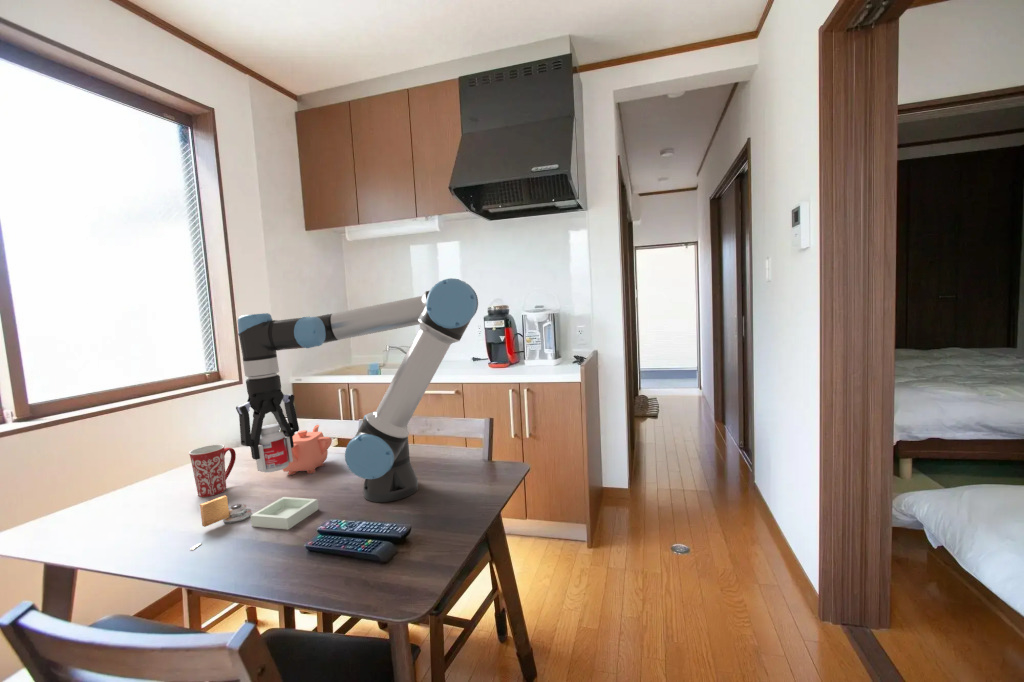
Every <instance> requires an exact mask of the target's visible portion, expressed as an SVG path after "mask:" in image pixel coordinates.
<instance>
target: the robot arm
mask: <svg viewBox="0 0 1024 682" xmlns="http://www.w3.org/2000/svg"><path fill="white" fill-rule="evenodd" d="M478 299H479V298H478V295H477V293H476V291H475V289H473V287H472V286H471V285H470V284H468V283H466V281H463V280H461V279H459V278H451V277H450V278H446V279H445V278H444V279H442V280H441V281H438V282H437V283H435V284H434V285H433V286H432V287H431V288H430V290H426V291H424V293H423V294H422V295H421V296H415V297H410V298H404V299H400V300H395V301H389V302H385V303H379V304H374V305H369V306H363V307H360V308H353V309H350V310H349V309H348V310H344V311H338V312H334V313H327V314H323V315H318V316H317V315H316V316H304V317H296V318H287V319H274V320H273V318H272V315H271V314H270V313H269V312H268V313H267V312H265V313H263V312H262V313H256V314H255V313H254V314H253V313H251V314H244V315H240V316H239V317H238V318H237V330H238V331H237V332H238V333H237V334H238V337H239V343H240V349H241V354H242V364H243V370H244V371H243V372H244V377H245V378H246V380H245V385H246V391H247V396H248V398H247V401H246V402H245V403H243V404H241V405H236V407H235V410H236V412H237V414H238V419H239V433H240V435H239V436H240V444H241V446H244V447H250V454H251V458H252V459H253V460H255V461H256V463H255V464H256V469H257V472H260V473H261V472H262V473H266V472H265V471H266V465H265V458H264V451H263V445H259V442H260V436H261V430H262V426H263V424H264V423H263V422H264V419H265V417H266V414H269V413H271V414H273V416H274V419H275V420H276V422H277V424H279V426H280V430H281V432H282V433H283V434H284V436H285V442H286V448H287V455H288V461H289V462H293V458H292V451H291V448H293V446H294V444H293V437H292V436H294V435H295V434H296V433H297V432H299V431H300V426H299V422H298V417H297V413H296V408H295V404H294V402H295V395H294V394H292V393H291V394H290V393H289V394H288V393H287V394H284V393H283V392H282V383H281V376H280V375H279V374H278V373H279V372H280V367H279V362H278V355H277V351H283V350H284V351H285V350H296V349H297V350H298V349H312V348H315V347H320V346H322V345H323V344H327V343H331V342H335V341H340V340H346V339H351V338H356V337H360V336H365V335H371V334H377V333H383V332H387V331H393V330H398V329H402V328H409V327H411V326H418V325H419V330H418V331H417V333H416V334H415V337H414V339H413V341H411V342H412V343H410V346H409V347H408V350H407V351H406V354H405V355H404V358H403V359H402V361H401V362H400V363H401V364H400V365H399V367H398V369H397V371H396V372H395V374H394V376H393V378H392V380H391V381H390V383H389V385H388V387H387V389H386V390H385V393H384V395H383V397H382V399H381V400H380V402H379V404H378V406H377V407H376V410H374V411H371V412H368V413H367V414H366V413H365V414H364V415H363V421H362V423H361V425H360V427H359V428H358V431H357V432H356V434H355V435H354V437H352V438H351V439H350V440H349V442H348V443H347V445H346V447H345V450H344V452H345V453H344V460H345V463H346V465H347V468H348V469H349V470H350V472H351V473H352V474H354V475H355V476H357V477H359V478H361V479H364V482H363V483H364V484H363V487H362V488H363V489H362V490H363V497H364V498H365V500H367V501H369V502H375V503H385V502H386V503H387V502H388V503H389V502H394V501H398V500H402V499H404V498H408V497H410V496H411V495H414V493H416V492H417V491H418V489H419V481H418V477H417V475H416V473H415V470H414V467H413V466H412V463H411V459H410V447H409V446H410V445H409V435H410V432H409V429H408V425H409V423H410V420H411V418H412V417H413V415H414V413H415V412H416V409H417V408H418V406H419V404H420V402H421V400H422V398H423V396H424V395H425V393H426V391H427V389H428V387H429V385H430V384H431V382H432V380H433V378H434V376H435V375H436V372H437V370H438V369H439V367H440V366H441V364H442V362H443V360H444V357H445V355H446V354H447V352H448V350H449V349H450V347H451V345H453V344H454V343H458V342H460V341H461V339H462V338H463V335H464V334H465V332H466V330H467V328H468V325H469V324H470V323H471V320H472V319H473V318H474V317H475V315H476V313H477V311H478V308H479V307H478V306H479V300H478ZM282 402H283V405H284V410H285V413H286V414H284V411H283V408H282V406H281V404H282ZM250 409H252V410H253V411H252V413H253V414H252V418H253V420H252V424H251V420H250V414H249V412H250ZM285 415H286V416H285ZM251 425H252V426H251Z"/></svg>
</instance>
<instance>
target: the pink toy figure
mask: <svg viewBox="0 0 1024 682" xmlns="http://www.w3.org/2000/svg"><path fill="white" fill-rule="evenodd" d="M319 427H320V424H316V425H314V427H313V429H312V431H308V430H307V429H306V430H305V429H304V430H299V431H297V432H296V433H295V435H294V436H292V437H293V444H294V446H293V448H291V451H292V458H293V462H289V465H288V466H287V467H286V468H284V469H282V471H283V472H288V473H287V475H288V476H289V475H290V476H291V475H296V474H297V472H305V471H306V474H309V475H311V474H314V473H316V471H317V470H316V468H318V467H323V466H324V465H325V464H324V462H326V460H327V458H328V454H329V452H328V451H329V448H330V447H331V445H332V443H333V439H332V437H329V436H324V433H323V432H322V431H319Z"/></svg>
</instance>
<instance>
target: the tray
mask: <svg viewBox="0 0 1024 682" xmlns="http://www.w3.org/2000/svg"><path fill="white" fill-rule="evenodd" d="M318 510H319V502H318V498H306V497H305V498H304V497H292V496H291V497H290V496H282V497H280V498H278V499H277V500H275V501H273V502H271V503H270V504H268V505H266V506H264V507H263V508H261V509H259V510H258V511H256V512H254V513H252V515H250V522H251V523H250V524H251V527H255V528H256V527H257V528H265V529H267V528H269V529H277V530H278V529H279V530H290V529H291V528H293V527H294V526H296V525H297V524H299V523H300V522H302V521H303V520H305V519H306V518H308V517H309V516H311V515H313V514H314V513H316V512H317V511H318Z"/></svg>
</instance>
